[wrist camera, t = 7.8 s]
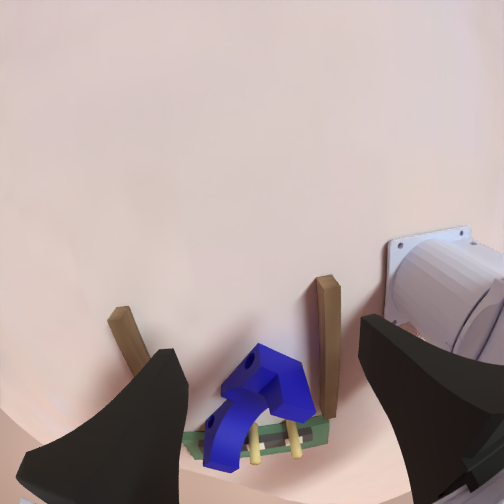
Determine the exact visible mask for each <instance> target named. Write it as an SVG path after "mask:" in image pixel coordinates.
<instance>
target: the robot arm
mask: <svg viewBox="0 0 504 504" xmlns="http://www.w3.org/2000/svg"><path fill="white" fill-rule="evenodd" d="M460 232H461V233H460ZM399 243H401V245H400V247H398V244H399ZM394 320H395V321H394ZM393 321H394V322H393ZM392 322H393V323H392ZM408 322H410V324H411V325H412V326H413V327H414V328H415V329H416V330H417V331H418V332H419V334H420V335H421V336H422V337H423V338H424V339H425V340H426V341H424V340H422V339H420V338H418V337H416V336H414V335H412V334H411V333H409V332H407V331H405V330H403V329H402V328H400V327H398V325H401V324H405V323H408ZM358 358H359V360H360V363H361V366H362V368H363V371H364V373H365V376H366V378H367V380H368V382H369V383H370V385H371V387H372V389H373V391H374V393H375V394H376V396H377V398H378V400H379V402H380V403H381V405H382V407H383V409H384V411H385V412H386V414H387V416H388V418H389V420H390V422H391V424H392V427H393V429H394V432H395V435H396V437H397V440H398V443H399V446H400V449H401V452H402V455H403V458H404V462H405V465H406V469H407V473H408V477H409V481H410V486H411V491H412V496H413V502H414V504H504V254H503V253H501V252H499V251H497V250H495V249H493V248H491V247H489V246H487V245H485V244H483V243H481V242H479V241H477V240H475V239H473V238H471V227H470V226H461V227H456V228H451V229H446V230H440V231H435V232H430V233H424V234H419V235H413V236H408V237H403V238H397V239H392V240H391V241H390V242H389V243H388V255H387V281H386V297H385V309H384V318H382V317H381V316H379V315H377V314H372V315H368V316H364V317H361V325H360V340H359V352H358ZM188 389H189V385H188V382H187V380H186V378H185V375H184V373H183V371H182V368H181V366H180V363H179V361H178V358H177V356H176V353H175V351H174V348H172V349H159V350H158V351H157V352H156V353H155V354H154V356H153V357H152V358H151V359H150V360H149V361H148V362H147V364H146V365H145V366H144V367H143V368H142V369H141V370H140V372H139V373H138V374H137V375H136V376H135V377H134V378H133V379H132V381H131V382H130V383H129V384H128V385H127V386H126V387H125V388H124V389H123V390H122V391H121V392H120V393H119V394H118V395H117V396H116V397H115V398H114V399H113V400H112V401H111V402H110V403H109V404H108V405H107V406H106V407H104V408H103V409H102V410H101V411H100V412H98V413H97V414H96V415H95V416H94V417H92V418H91V419H89V420H88V421H87V422H85V423H84V424H82V425H81V426H79V427H78V428H76V429H75V430H73V431H72V432H70V433H68V434H66V435H65V436H63V437H61V438H59V439H57V440H55V441H53V442H51V443H49V444H47V445H44V446H42V447H39V448H36V449H34V450H31V451H28V452H26V454H25V456H24V458H23V461H22V463H21V465H20V467H19V470H18V472H17V475H16V479H17V480H18V481H19V483H20V484H21V485H23V486H24V487H25V488H26V489H27V490H29V491H30V492H32V493H33V494H34V495H36V496H37V497H38V498H40V499H41V500H43V501H44V502H46V503H47V504H179V480H178V479H179V477H178V476H179V457H180V449H181V443H182V437H183V432H184V426H185V420H186V415H187V409H188ZM19 504H36V503H33V502H32V501H30V500H28V499H26V498H24V497H22V498H21V501H20V503H19Z"/></svg>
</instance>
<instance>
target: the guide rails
mask: <svg viewBox="0 0 504 504" xmlns="http://www.w3.org/2000/svg"><path fill="white" fill-rule="evenodd" d="M316 282H317V299H318V319H319V350H320V408H321V411H322V415H323V418H324V420H327V419H331V418H335V417H336V410H337V398H338V384H339V367H340V340H341V286H340V285H339V284H338V282H337V281H336V280H335V278H334V277H333V276H332V275H327V276H322V277H316ZM107 321H108V324H109V326H110V328H111V331H112V333H113V335H114V337H115V339H116V341H117V344H118V346H119V348H120V350H121V352H122V354H123V356H124V358H125V360H126V362H127V364H128V366H129V368H130V370H131V372H132V373H133V375H134V377H135V376H136V375H137V374H138V373H139V372H140V370H141V369H142V368H143V367H144V366H145V365H146V364H147V362H148V361H149V360H150V359H151V358H150V356H149V353H148V351H147V349H146V347H145V344H144V342H143V340H142V337H141V335H140V333H139V330H138V328H137V325H136V323H135V320H134V318H133V315H132V313H131V310H130V307H129V306H125V307H116V309H115V310H114V312H113V313H112V314H111V316H110V317H109V319H108V320H107Z"/></svg>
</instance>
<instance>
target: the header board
mask: <svg viewBox="0 0 504 504" xmlns="http://www.w3.org/2000/svg"><path fill="white" fill-rule="evenodd" d="M328 433H329V420H328V419H327V420H324V418H323V415H321V416H317V417H312V418H309V419H308V420H307V421H306V422H304V423H303V424H302V423H299V422H295V421H291V420H288V419H286V423H281V424H275V425H268V426H261V427H258V425H257V423H253V424H252V426H251V427H250V429H249V431H248V433H247V435H246V437H245V440H244V442H243V446H242V449H241V453H240V458H243V457H250V464H252V465H258V464H260V463H261V459H260V456H262V455H269V454H276V453H283V452H289V451H291V453H292V458H293V459H299V458H301V457H302V456H303V455H302V450H301V449H305V448H310V447H315V446H319V445H323V444H328ZM204 438H205V431H204V432H183V437H182V442H183V443H184V445H185V446H186V448H187V449H188V451H189V452H190V453H191V455H192V456H193V458H194V459H195V460H203V453H204Z"/></svg>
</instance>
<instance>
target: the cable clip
mask: <svg viewBox="0 0 504 504" xmlns="http://www.w3.org/2000/svg"><path fill="white" fill-rule="evenodd" d="M221 397H224V398H226V399H227V400H226V401H225V402H224V403H223V404H222V405H221V406H220V407H219V408H218V409H217V410H216V411H215V412H214V413H213V414H212V415H211V416H210V417H209V418H208V419H207V420H206V424H205V438H204V453H203V466H204V467H207V468H211V469H215V470H219V471H223V472H227V473H232V472H234V471H236V470H237V469H239V460H240V453H241V449H242V446H243V442H244V440H245V437H246V435H247V433H248V431H249V429H250V427H251V426H252V424H253V423H254V421H255V420H256V419H257V417H258V416H259V415H260V414H261V413H262V412H263V411H264V410H266V409H267V408H269V410H270V414H271V415H274V416H277V417H281V418H284V419H288V420H291V421H295V422H299V423H302V424H303V423H304V422H306V421H307V420H308V419H309V418H311V417H312V416H313V415H314V414H315V413H316V410H315V407H314V403H313V400H312V397H311V393H310V390H309V386H308V383H307V380H306V376H305V373H304V370H303V366H302V363H301V362H299V361H297V360H295V359H292V358H290V357H288V356H286V355H283V354H281V353H279V352H277V351H274V350H272V349H270V348H268V347H266V346H264V345H262V344H259V343H258V344H257V345H256V346H255V347H254V349H253V350H252V351H251V352H250V353H249V355H248V356H247V357H246V358H245V359H244V360H243V361H242V363H241V364H240V365H239V366H238V367H237V368H236V370H235V371H234V372H233V373H232V374H231V375H230V376H229V377H228V379H227V380H226V381H225V382H224V383H223V384H222V385H221Z"/></svg>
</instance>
